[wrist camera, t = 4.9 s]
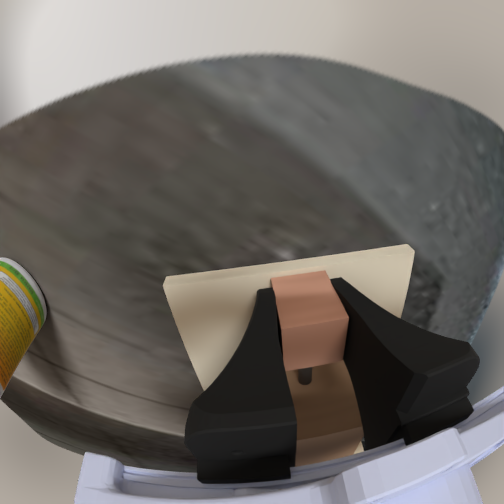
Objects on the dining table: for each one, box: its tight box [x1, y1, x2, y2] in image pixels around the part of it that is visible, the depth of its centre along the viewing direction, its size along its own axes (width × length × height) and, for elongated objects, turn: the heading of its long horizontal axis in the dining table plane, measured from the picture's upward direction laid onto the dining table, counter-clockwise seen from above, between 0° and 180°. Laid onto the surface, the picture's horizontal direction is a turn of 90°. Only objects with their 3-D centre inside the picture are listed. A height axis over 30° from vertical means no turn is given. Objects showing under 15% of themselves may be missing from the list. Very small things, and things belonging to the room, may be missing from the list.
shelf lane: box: [163, 244, 415, 490], centre depth 15 cm, size 21×12×7 cm, turn 7°
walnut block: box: [271, 270, 364, 467], centre depth 12 cm, size 11×5×5 cm, turn 7°
